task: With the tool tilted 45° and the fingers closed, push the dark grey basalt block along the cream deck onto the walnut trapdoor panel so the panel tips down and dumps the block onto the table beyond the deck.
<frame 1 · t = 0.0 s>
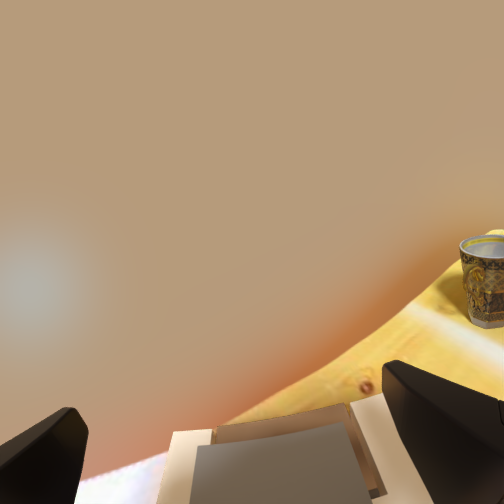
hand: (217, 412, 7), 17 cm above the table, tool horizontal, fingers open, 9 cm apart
ceramic cup: (484, 322, 32), on the table
trapdoor: (287, 464, 16), point 6 cm above the table, hinge at 0.0°
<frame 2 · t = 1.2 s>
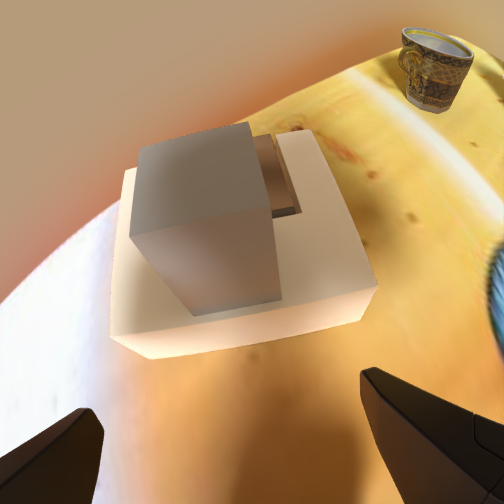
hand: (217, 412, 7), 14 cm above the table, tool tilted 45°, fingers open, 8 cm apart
stone: (216, 230, 15), point 10 cm above the table, touching deck
ceramic cup: (420, 103, 35), on the table
deck: (238, 261, 26), on the table
trapdoor: (220, 184, 23), point 6 cm above the table, hinge at 0.0°
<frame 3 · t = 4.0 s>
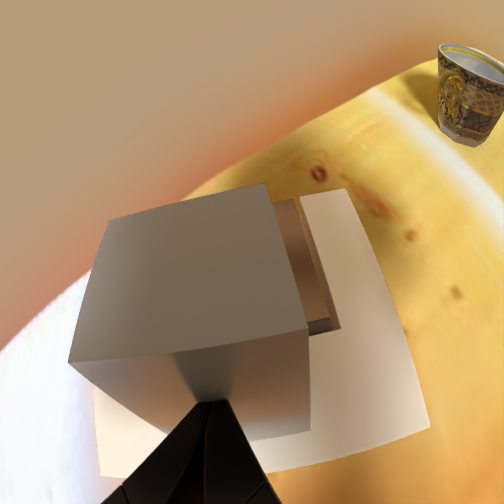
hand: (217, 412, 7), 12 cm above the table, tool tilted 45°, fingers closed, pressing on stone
stone: (218, 344, 10), point 10 cm above the table, tilted 14°, touching gripper, trapdoor
ceramic cup: (454, 134, 30), on the table
deck: (251, 359, 20), on the table
trapdoor: (228, 276, 17), point 5 cm above the table, hinge at -2.3°, touching stone
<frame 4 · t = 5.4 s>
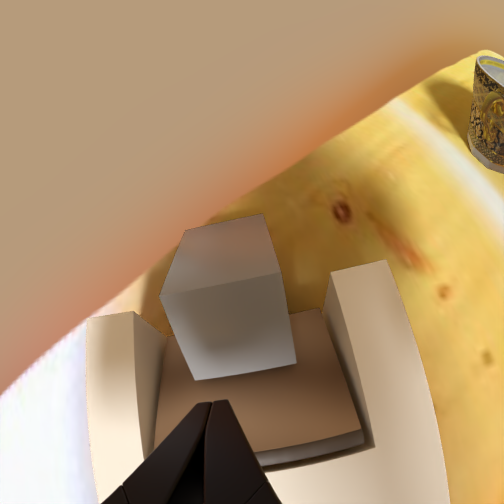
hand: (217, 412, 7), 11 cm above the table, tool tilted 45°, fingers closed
stone: (232, 288, 17), point 4 cm above the table, tilted 125°, touching trapdoor
ceramic cup: (485, 158, 25), on the table
deck: (266, 443, 16), on the table
trapdoor: (248, 388, 14), point 4 cm above the table, hinge at -26.6°, touching stone
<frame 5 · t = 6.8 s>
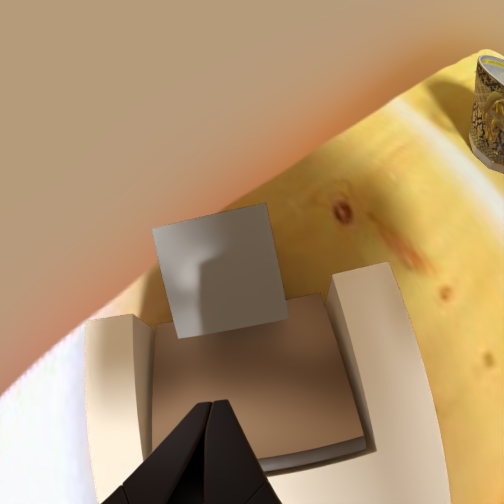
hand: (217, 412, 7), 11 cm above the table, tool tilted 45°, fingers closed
stone: (227, 262, 17), point 5 cm above the table, tilted 144°, touching trapdoor
ceramic cup: (487, 158, 25), on the table
deck: (266, 445, 16), on the table
trapdoor: (246, 386, 14), point 5 cm above the table, hinge at -15.3°, touching stone
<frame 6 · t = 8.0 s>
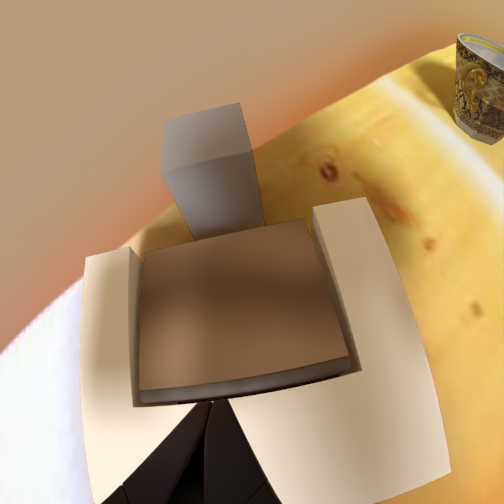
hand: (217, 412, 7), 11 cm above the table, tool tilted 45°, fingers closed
stone: (217, 178, 21), point 4 cm above the table, tilted 180°
ceramic cup: (471, 130, 27), on the table
deck: (255, 386, 17), on the table
trapdoor: (231, 307, 15), point 5 cm above the table, hinge at -8.4°
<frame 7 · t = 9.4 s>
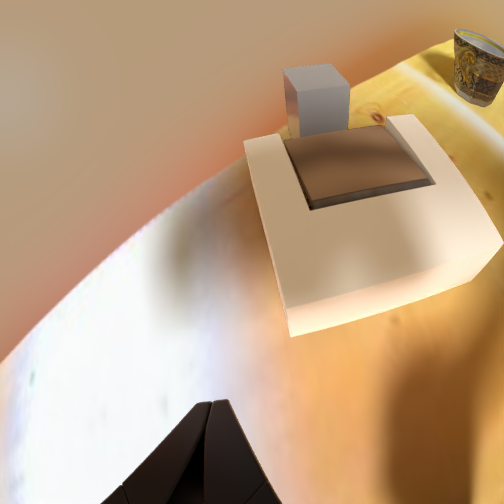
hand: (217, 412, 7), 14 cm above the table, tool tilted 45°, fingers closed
stone: (316, 109, 29), point 4 cm above the table, tilted 180°
ceramic cup: (468, 97, 35), on the table
deck: (362, 233, 25), on the table
trapdoor: (354, 162, 23), point 5 cm above the table, hinge at -7.7°
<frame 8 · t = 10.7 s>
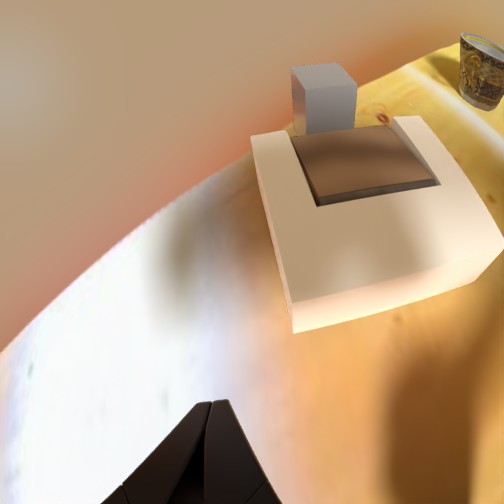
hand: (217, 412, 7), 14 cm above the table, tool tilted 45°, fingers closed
stone: (322, 107, 29), point 4 cm above the table, tilted 180°
ceramic cup: (472, 101, 35), on the table
deck: (366, 232, 25), on the table
trapdoor: (360, 160, 23), point 5 cm above the table, hinge at -7.7°
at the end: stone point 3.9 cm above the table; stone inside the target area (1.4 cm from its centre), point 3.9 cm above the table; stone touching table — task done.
